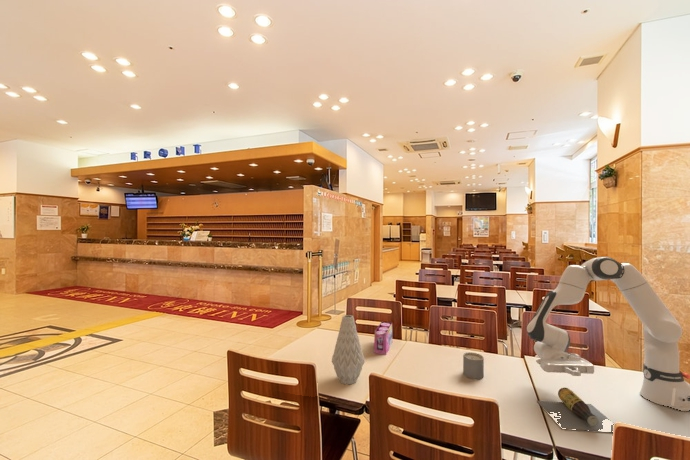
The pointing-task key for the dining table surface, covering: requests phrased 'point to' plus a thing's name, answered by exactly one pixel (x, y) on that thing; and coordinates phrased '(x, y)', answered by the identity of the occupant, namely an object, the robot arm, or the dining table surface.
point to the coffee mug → (473, 365)
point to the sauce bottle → (577, 406)
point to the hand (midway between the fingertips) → (577, 374)
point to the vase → (348, 352)
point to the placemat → (573, 416)
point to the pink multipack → (383, 338)
